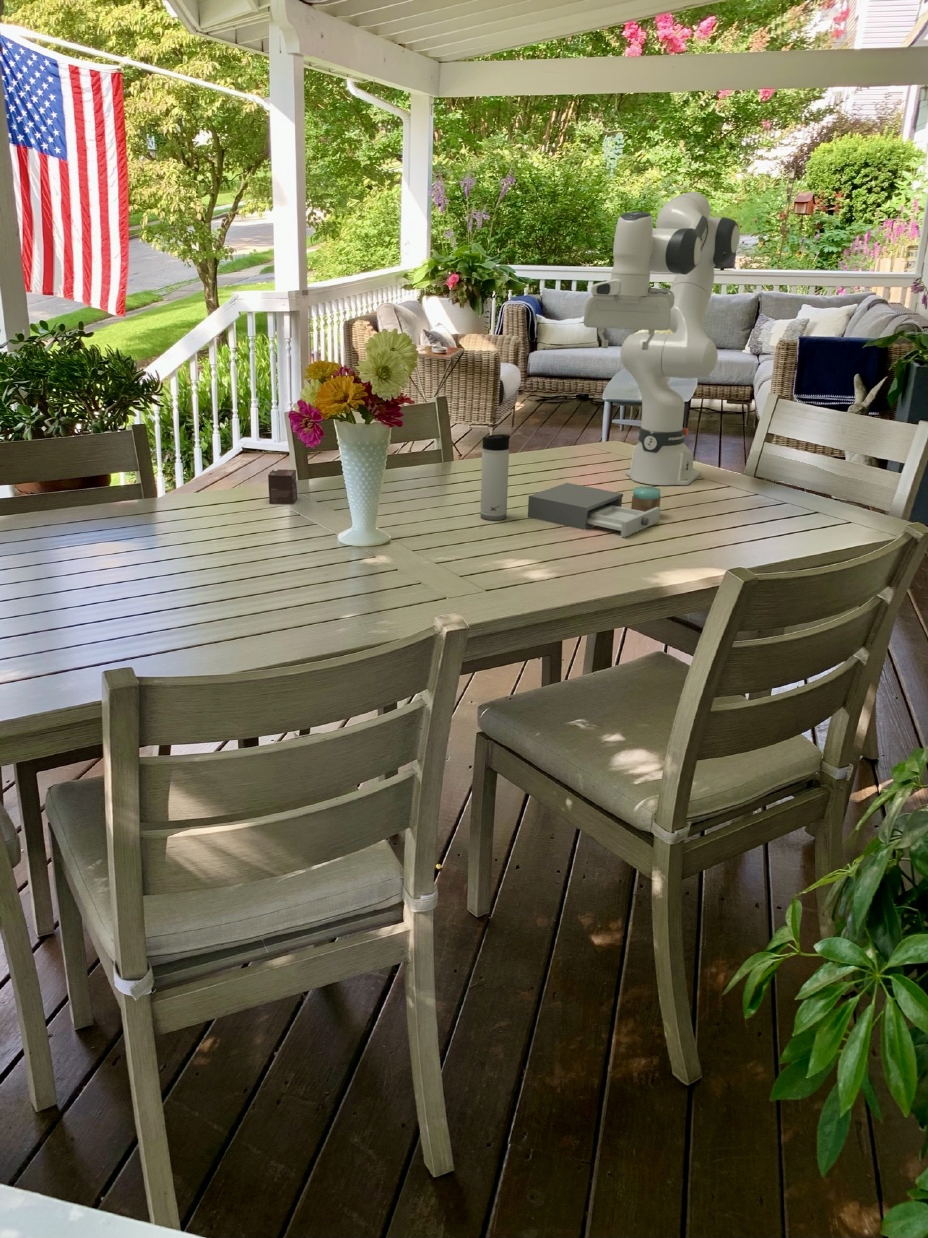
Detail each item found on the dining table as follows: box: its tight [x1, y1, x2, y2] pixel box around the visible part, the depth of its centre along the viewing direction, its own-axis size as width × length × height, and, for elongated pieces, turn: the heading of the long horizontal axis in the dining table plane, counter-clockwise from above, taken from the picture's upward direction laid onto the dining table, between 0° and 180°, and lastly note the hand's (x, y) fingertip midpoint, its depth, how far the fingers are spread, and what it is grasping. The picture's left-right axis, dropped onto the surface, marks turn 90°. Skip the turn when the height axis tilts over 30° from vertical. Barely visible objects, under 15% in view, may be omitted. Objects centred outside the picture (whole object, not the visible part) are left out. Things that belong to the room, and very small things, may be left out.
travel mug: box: [479, 433, 511, 521], centre depth 239 cm, size 6×7×20 cm
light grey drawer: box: [587, 505, 661, 538], centre depth 238 cm, size 17×17×4 cm
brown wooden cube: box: [630, 495, 662, 512], centre depth 245 cm, size 5×5×5 cm
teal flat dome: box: [632, 485, 662, 500], centre depth 244 cm, size 6×6×2 cm
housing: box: [527, 482, 624, 530], centre depth 244 cm, size 17×16×5 cm
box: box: [267, 469, 298, 505], centre depth 251 cm, size 6×6×7 cm
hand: (624, 348), depth 240 cm, fingers open, 8 cm apart
